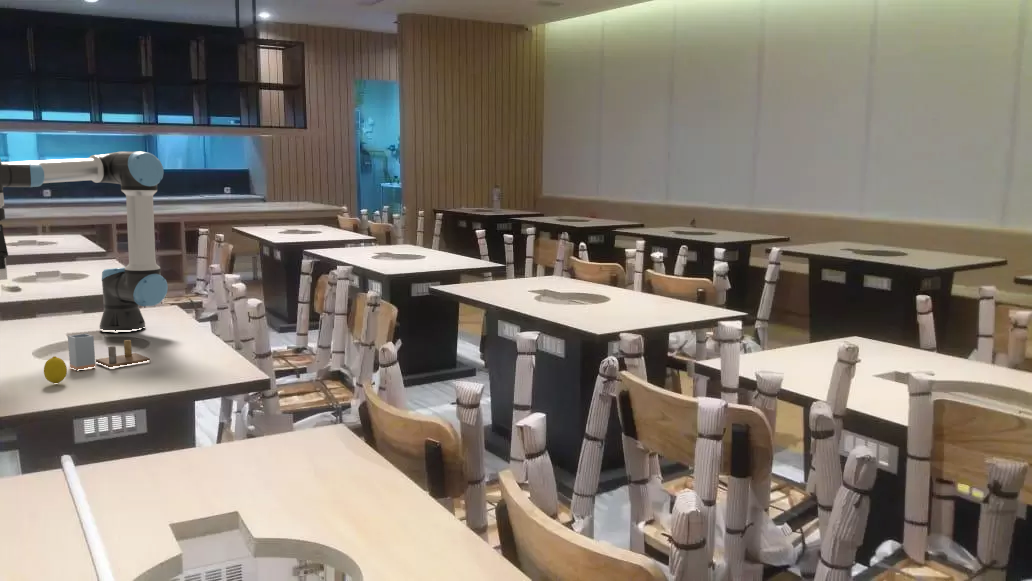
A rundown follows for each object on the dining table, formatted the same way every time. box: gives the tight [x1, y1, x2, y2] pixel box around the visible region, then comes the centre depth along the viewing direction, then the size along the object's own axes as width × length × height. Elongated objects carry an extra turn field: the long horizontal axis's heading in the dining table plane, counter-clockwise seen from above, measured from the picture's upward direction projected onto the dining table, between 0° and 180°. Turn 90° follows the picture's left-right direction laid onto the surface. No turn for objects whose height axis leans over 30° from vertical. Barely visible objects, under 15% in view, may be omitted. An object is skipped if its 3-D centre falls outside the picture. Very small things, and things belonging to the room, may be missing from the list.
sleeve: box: [67, 333, 96, 370], centre depth 241 cm, size 5×5×10 cm
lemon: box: [43, 355, 68, 384], centre depth 224 cm, size 6×6×8 cm
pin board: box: [95, 339, 151, 367], centre depth 248 cm, size 12×10×6 cm
